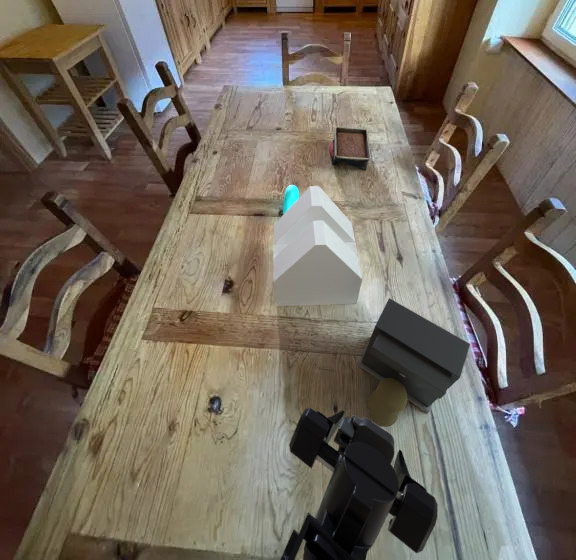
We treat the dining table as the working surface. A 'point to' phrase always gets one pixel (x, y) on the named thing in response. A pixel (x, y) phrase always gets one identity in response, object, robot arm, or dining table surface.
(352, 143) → the square planter box
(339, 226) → the white house shaped block
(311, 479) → the dining table surface
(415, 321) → the coffee maker
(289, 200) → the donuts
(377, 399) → the cork
